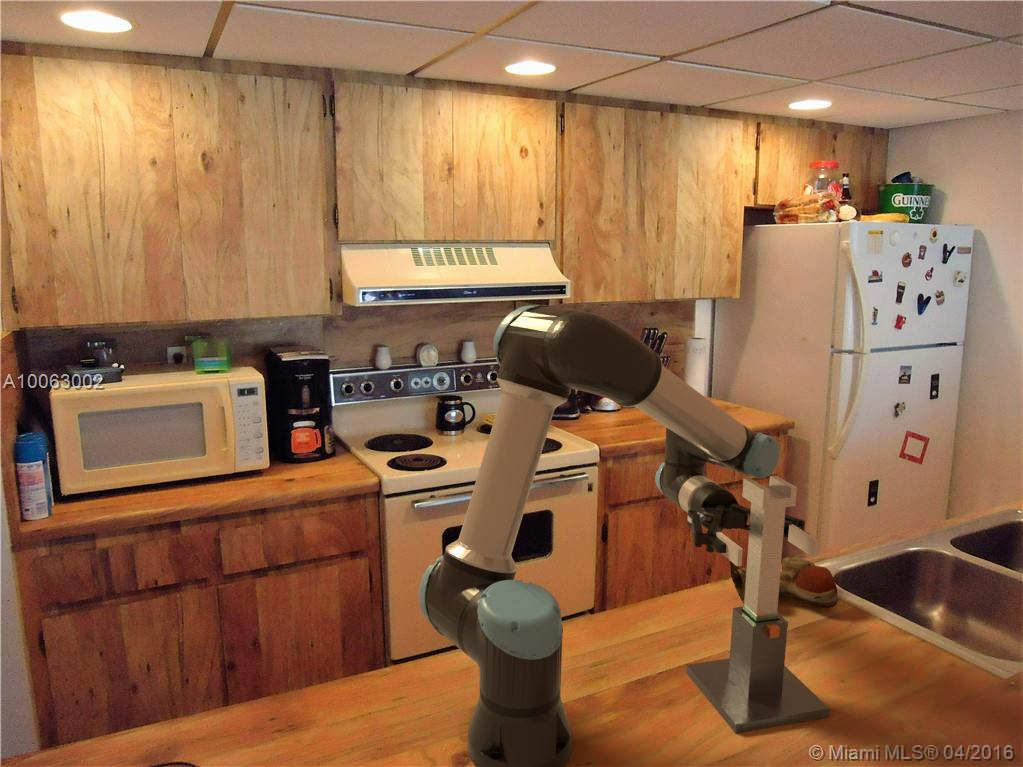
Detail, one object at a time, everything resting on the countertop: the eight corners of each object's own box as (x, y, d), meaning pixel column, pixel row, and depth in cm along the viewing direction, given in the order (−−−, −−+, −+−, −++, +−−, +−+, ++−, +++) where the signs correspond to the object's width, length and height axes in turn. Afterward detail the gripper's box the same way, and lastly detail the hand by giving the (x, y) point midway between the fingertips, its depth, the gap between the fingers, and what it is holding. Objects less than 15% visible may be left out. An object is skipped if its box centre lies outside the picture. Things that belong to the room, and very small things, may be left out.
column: (751, 661, 116) (763, 490, 110) (732, 642, 121) (743, 478, 116) (783, 656, 117) (797, 487, 112) (763, 637, 123) (775, 475, 117)
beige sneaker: (721, 552, 155) (812, 541, 158) (721, 590, 158) (810, 579, 160) (753, 588, 141) (852, 575, 143) (752, 629, 143) (849, 617, 146)
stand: (735, 733, 111) (741, 648, 108) (686, 672, 127) (690, 596, 124) (828, 717, 115) (836, 634, 112) (769, 660, 130) (775, 586, 127)
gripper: (768, 517, 136) (846, 568, 116) (644, 529, 131) (703, 585, 110) (771, 478, 135) (850, 522, 114) (645, 488, 129) (706, 537, 109)
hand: (778, 553), depth 112 cm, fingers open, 12 cm apart
